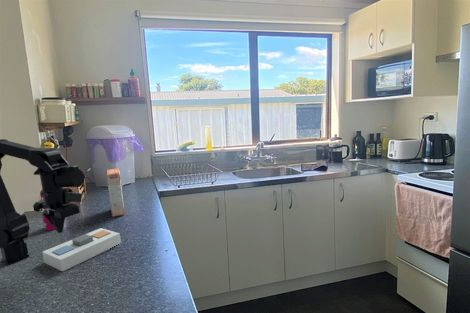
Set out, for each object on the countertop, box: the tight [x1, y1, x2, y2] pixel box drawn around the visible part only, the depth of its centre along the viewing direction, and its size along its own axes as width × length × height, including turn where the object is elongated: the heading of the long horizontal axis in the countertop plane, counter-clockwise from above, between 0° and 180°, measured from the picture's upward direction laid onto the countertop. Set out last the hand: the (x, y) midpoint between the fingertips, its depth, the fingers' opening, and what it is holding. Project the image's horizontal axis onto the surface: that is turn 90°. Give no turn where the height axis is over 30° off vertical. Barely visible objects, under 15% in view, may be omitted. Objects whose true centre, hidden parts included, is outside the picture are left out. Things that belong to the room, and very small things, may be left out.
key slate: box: [52, 245, 74, 256], centre depth 102 cm, size 5×5×3 cm
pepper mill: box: [39, 189, 56, 231], centre depth 133 cm, size 7×7×20 cm
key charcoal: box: [71, 233, 93, 247], centre depth 107 cm, size 5×5×3 cm
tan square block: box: [91, 230, 110, 239], centre depth 113 cm, size 5×5×3 cm
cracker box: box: [106, 168, 125, 218], centre depth 148 cm, size 14×6×21 cm, turn 22°
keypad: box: [41, 227, 122, 272], centre depth 108 cm, size 22×12×4 cm, turn 147°
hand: (60, 232), depth 100 cm, fingers closed
